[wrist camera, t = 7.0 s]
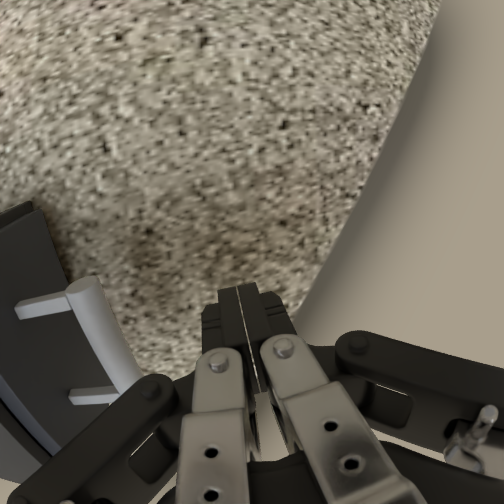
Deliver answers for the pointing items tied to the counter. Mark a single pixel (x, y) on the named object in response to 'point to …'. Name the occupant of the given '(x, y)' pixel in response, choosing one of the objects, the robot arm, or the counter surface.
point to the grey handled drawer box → (4, 425)
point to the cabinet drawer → (55, 340)
